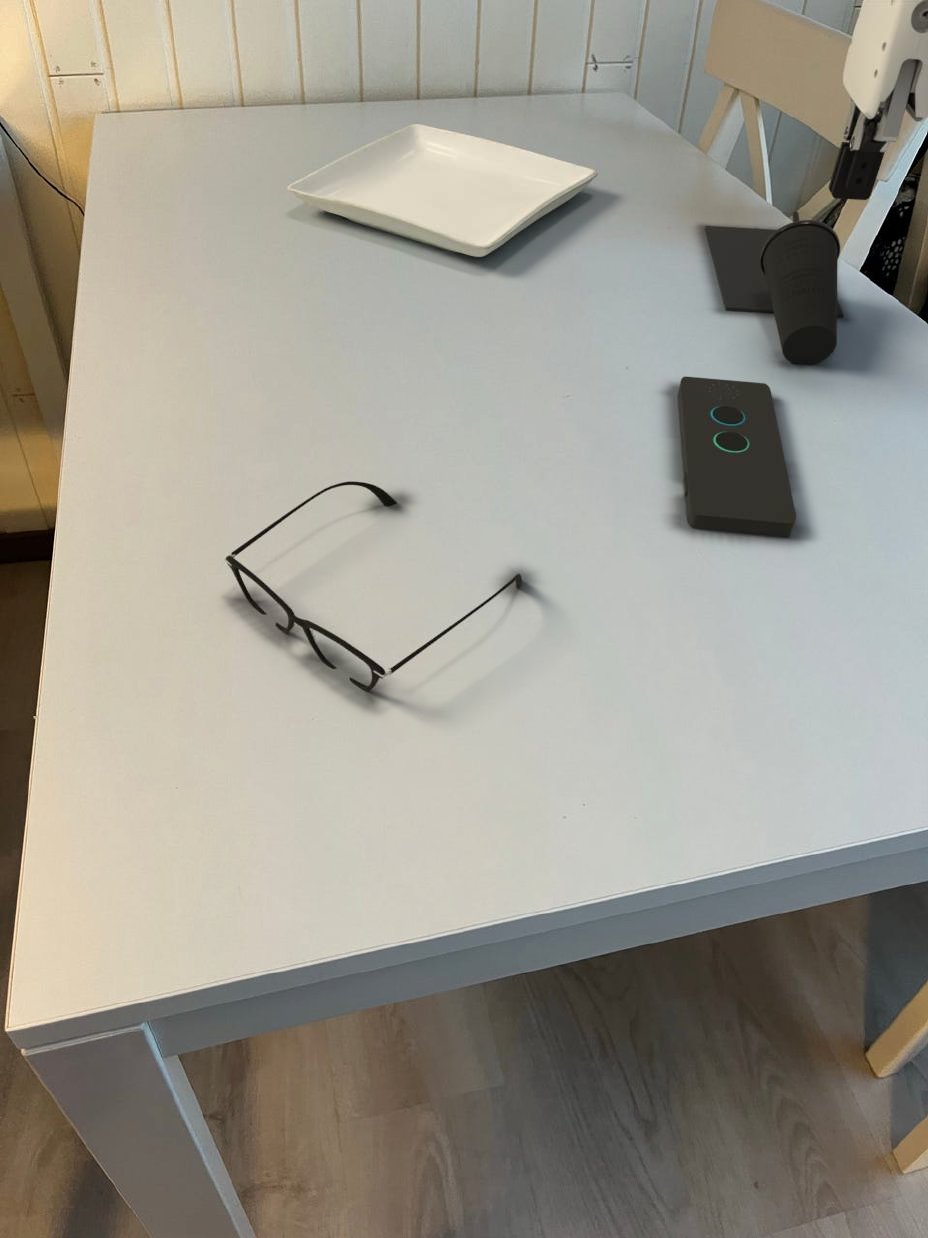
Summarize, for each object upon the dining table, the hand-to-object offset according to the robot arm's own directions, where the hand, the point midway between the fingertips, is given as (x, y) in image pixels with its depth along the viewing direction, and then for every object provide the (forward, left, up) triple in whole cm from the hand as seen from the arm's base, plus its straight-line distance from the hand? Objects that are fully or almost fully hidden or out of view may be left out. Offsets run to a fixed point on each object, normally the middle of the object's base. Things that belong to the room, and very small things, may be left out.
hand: (848, 194), depth 81 cm
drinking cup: (-1, +2, -13) cm, 13 cm away
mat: (+9, -16, -15) cm, 24 cm away
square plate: (+47, -8, -16) cm, 50 cm away
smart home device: (-1, +20, -16) cm, 25 cm away
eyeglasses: (+13, +50, -16) cm, 54 cm away
